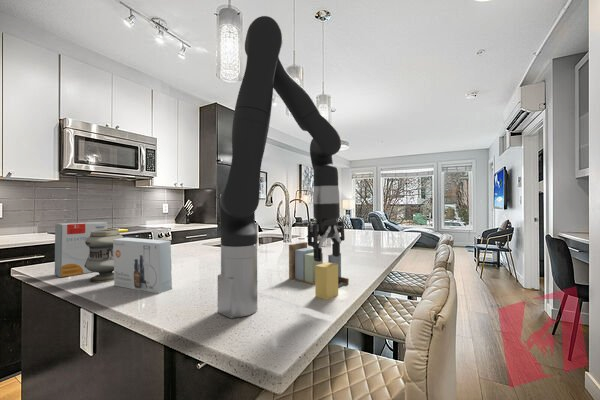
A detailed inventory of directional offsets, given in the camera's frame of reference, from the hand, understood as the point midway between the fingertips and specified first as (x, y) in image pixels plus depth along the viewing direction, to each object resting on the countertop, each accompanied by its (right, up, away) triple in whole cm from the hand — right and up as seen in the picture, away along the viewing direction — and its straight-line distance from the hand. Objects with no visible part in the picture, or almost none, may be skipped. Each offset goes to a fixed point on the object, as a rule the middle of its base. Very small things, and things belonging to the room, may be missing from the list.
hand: (327, 258), depth 81 cm
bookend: (+3, -11, +10) cm, 15 cm away
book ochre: (0, -12, 0) cm, 12 cm away
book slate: (-6, -11, +18) cm, 22 cm away
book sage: (-3, -11, +15) cm, 19 cm away
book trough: (-2, -12, +14) cm, 19 cm away
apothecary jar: (-79, -12, +23) cm, 84 cm away
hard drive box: (-95, -12, +32) cm, 101 cm away
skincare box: (-60, -12, +12) cm, 62 cm away
